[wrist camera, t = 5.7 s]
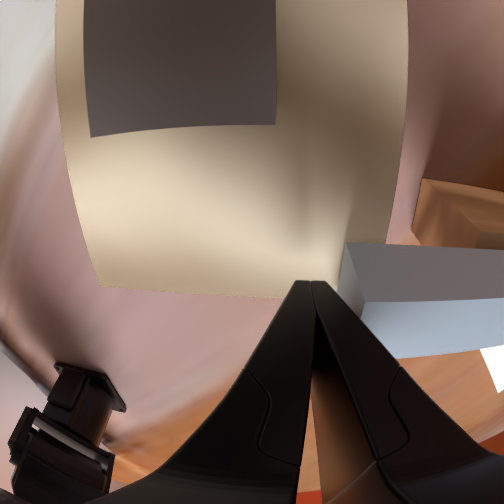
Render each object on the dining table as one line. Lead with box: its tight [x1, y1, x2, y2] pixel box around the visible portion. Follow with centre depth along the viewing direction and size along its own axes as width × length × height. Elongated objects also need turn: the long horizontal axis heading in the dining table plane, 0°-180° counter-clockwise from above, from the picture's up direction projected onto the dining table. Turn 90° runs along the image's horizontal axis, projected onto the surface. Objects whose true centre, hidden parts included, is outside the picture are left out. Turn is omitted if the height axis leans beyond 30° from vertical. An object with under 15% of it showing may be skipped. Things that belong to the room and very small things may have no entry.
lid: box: [55, 0, 408, 298], centre depth 6 cm, size 12×10×5 cm
